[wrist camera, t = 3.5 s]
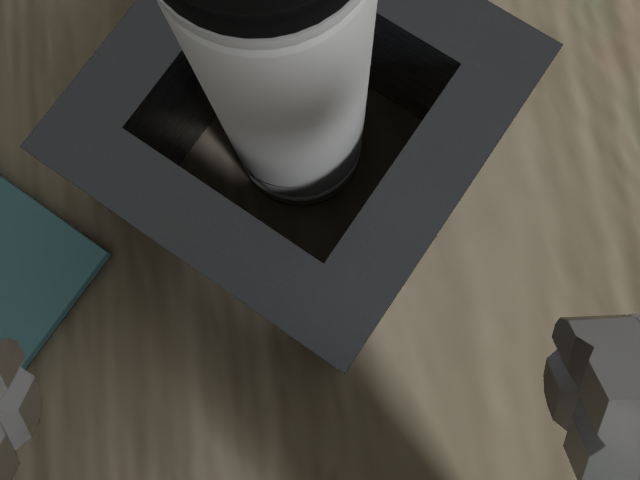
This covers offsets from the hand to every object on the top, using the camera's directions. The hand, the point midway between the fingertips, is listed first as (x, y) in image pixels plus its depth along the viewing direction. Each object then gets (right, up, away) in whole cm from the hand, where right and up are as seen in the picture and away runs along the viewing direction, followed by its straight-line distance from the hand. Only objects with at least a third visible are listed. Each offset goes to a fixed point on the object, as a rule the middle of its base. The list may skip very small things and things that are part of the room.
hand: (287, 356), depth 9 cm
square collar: (0, +6, +22) cm, 23 cm away
